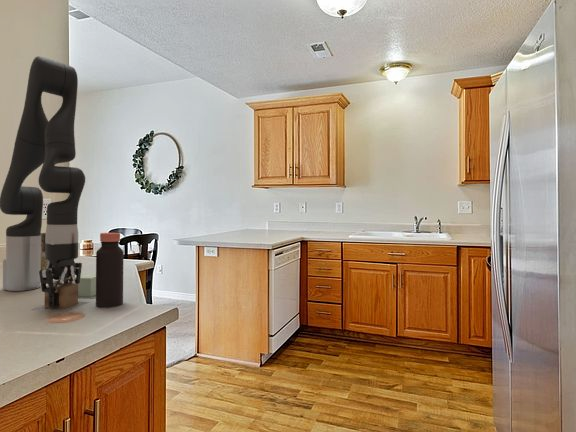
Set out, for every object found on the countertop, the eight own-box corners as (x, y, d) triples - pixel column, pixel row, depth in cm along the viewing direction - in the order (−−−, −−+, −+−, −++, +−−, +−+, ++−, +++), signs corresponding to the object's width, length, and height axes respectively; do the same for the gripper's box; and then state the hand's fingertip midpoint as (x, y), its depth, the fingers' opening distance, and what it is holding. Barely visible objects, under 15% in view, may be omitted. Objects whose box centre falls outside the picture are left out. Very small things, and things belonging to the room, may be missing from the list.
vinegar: (90, 306, 101) (91, 233, 101) (114, 301, 106) (115, 232, 106) (103, 310, 97) (104, 234, 97) (128, 305, 103) (128, 233, 102)
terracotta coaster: (37, 323, 85) (37, 321, 85) (60, 314, 93) (60, 311, 93) (70, 325, 85) (70, 322, 85) (91, 315, 93) (91, 312, 93)
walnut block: (44, 308, 97) (44, 287, 97) (58, 302, 102) (58, 283, 102) (64, 308, 96) (64, 287, 96) (77, 303, 102) (78, 283, 102)
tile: (29, 311, 95) (29, 310, 95) (56, 302, 105) (56, 300, 105) (67, 313, 94) (67, 311, 94) (90, 303, 104) (90, 301, 104)
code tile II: (60, 299, 108) (60, 297, 108) (81, 291, 118) (81, 290, 118) (93, 300, 107) (93, 299, 107) (112, 292, 117) (112, 291, 117)
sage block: (72, 296, 110) (72, 277, 110) (84, 292, 115) (84, 274, 115) (90, 297, 110) (90, 278, 109) (101, 292, 115) (101, 275, 115)
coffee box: (66, 272, 152) (66, 232, 152) (49, 274, 147) (49, 233, 146) (55, 269, 157) (55, 231, 157) (38, 271, 151) (38, 232, 151)
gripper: (66, 238, 106) (65, 297, 107) (28, 243, 92) (27, 311, 92) (91, 239, 106) (91, 298, 106) (57, 244, 92) (56, 312, 92)
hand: (61, 304), depth 99 cm, fingers closed on walnut block, 5 cm apart
